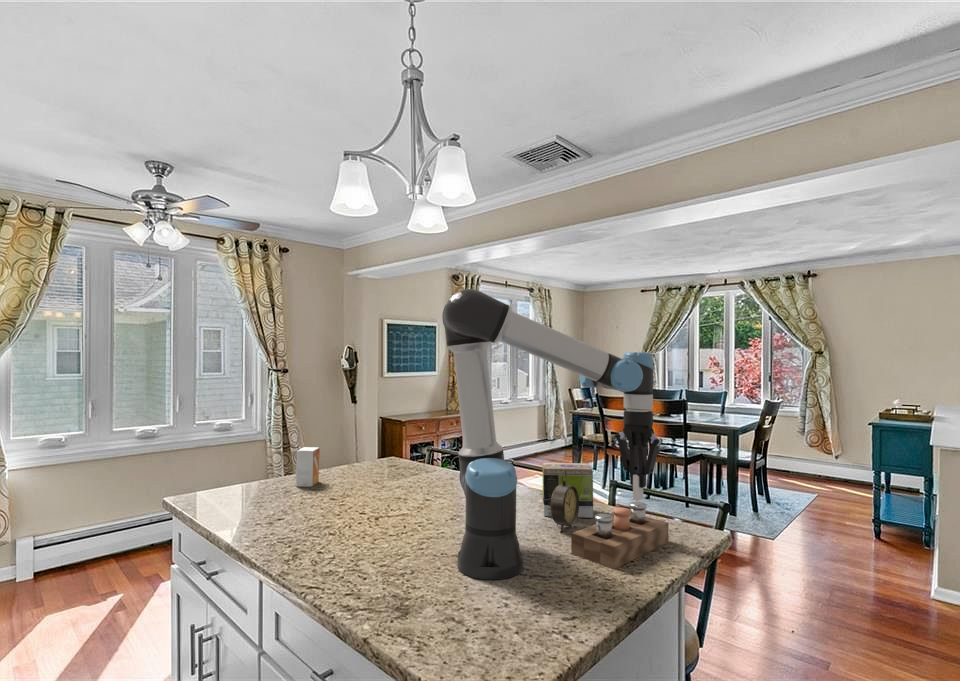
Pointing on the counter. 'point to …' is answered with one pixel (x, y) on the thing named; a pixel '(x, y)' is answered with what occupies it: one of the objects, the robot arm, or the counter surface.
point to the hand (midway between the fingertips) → (638, 499)
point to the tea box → (577, 477)
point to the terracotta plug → (621, 519)
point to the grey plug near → (604, 526)
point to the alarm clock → (564, 504)
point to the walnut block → (619, 543)
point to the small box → (307, 466)
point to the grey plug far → (637, 512)
